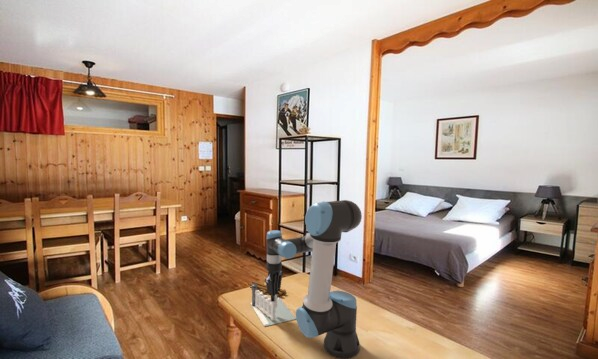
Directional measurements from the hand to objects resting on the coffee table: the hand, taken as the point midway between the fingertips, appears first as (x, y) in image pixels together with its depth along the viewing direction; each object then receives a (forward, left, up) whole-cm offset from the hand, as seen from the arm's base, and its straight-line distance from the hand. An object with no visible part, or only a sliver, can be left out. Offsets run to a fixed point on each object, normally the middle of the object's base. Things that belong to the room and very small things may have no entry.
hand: (274, 306), depth 152 cm
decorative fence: (+29, -6, -5) cm, 30 cm away
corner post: (+14, +6, -5) cm, 16 cm away
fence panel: (+3, +4, -4) cm, 6 cm away
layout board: (+5, -1, -5) cm, 7 cm away
